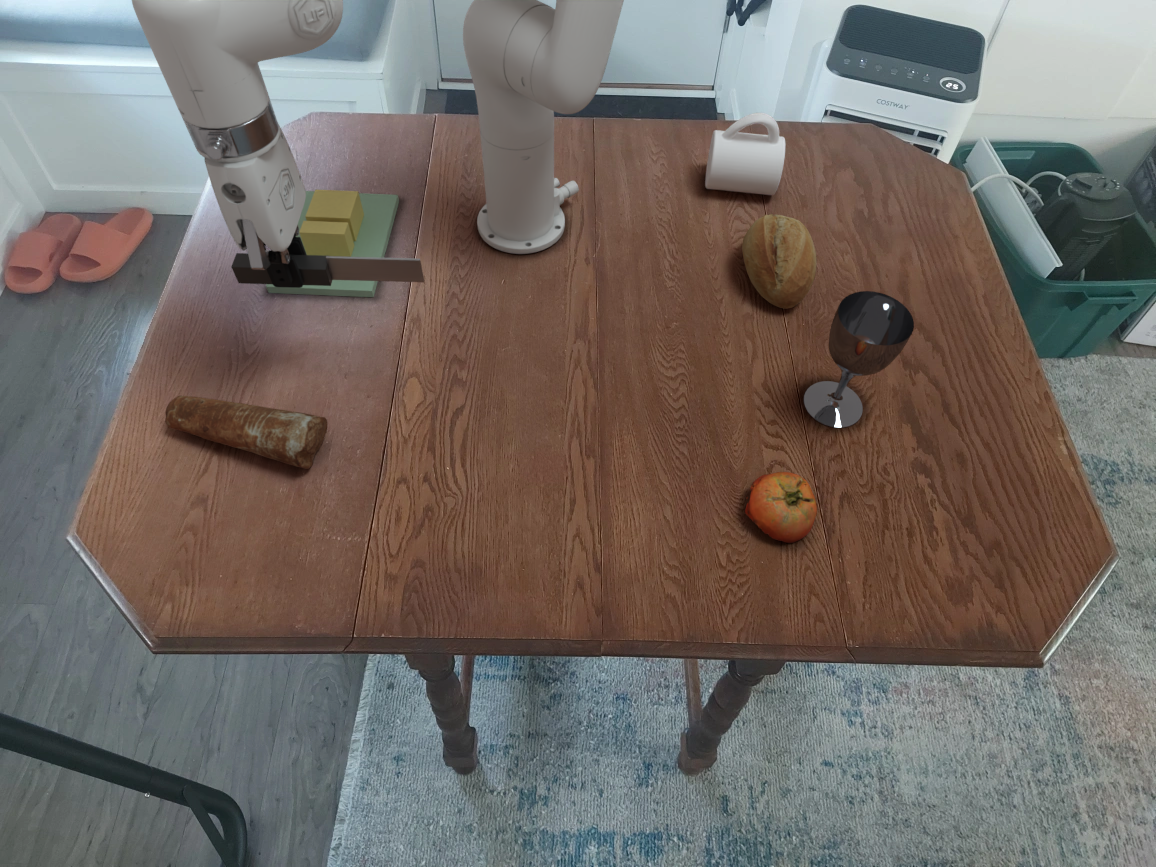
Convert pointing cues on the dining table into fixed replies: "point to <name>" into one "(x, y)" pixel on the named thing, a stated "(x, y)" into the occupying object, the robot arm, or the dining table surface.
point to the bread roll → (780, 259)
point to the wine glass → (858, 353)
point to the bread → (250, 428)
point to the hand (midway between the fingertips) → (291, 275)
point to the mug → (746, 157)
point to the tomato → (782, 506)
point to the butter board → (361, 248)
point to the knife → (336, 269)
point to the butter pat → (327, 238)
